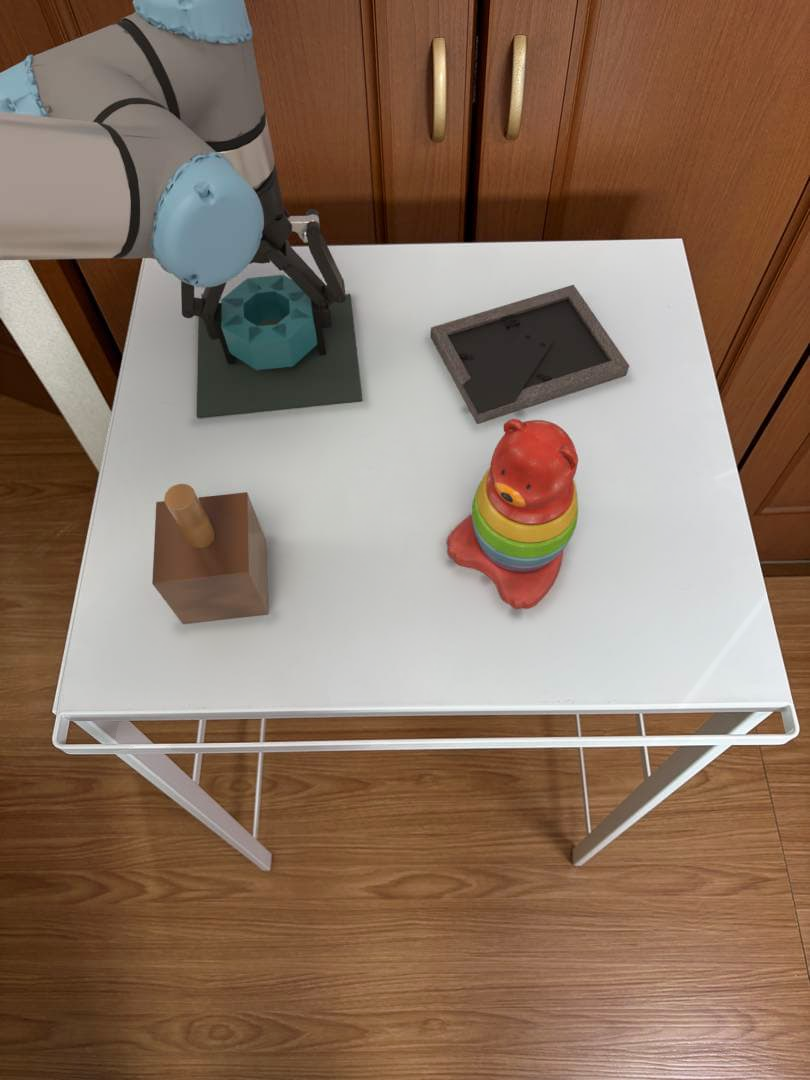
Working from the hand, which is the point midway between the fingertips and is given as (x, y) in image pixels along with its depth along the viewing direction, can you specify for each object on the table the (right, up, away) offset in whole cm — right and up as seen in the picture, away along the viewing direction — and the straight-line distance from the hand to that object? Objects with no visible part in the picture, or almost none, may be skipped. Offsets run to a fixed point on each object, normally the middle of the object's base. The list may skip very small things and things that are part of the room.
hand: (276, 350), depth 84 cm
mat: (0, 0, +1) cm, 1 cm away
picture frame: (+28, -1, 0) cm, 28 cm away
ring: (0, +1, -2) cm, 2 cm away
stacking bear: (+25, -22, -12) cm, 36 cm away
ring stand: (-3, -25, -13) cm, 29 cm away
